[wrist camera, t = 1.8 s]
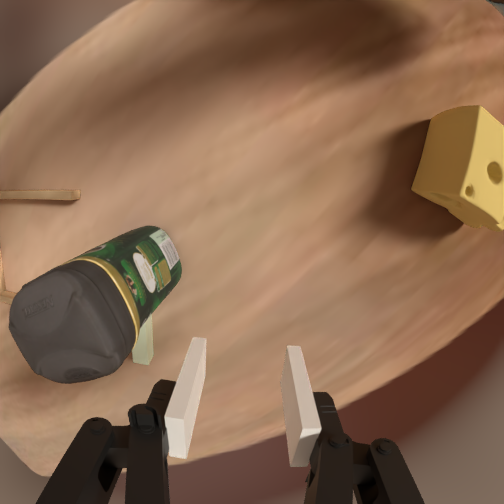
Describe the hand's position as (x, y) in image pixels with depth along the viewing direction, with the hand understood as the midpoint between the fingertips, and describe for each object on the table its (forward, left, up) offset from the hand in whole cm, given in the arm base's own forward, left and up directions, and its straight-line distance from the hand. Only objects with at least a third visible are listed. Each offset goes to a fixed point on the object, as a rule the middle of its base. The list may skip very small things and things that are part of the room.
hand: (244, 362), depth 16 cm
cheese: (-15, +23, -17) cm, 32 cm away
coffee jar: (0, -12, -17) cm, 21 cm away
